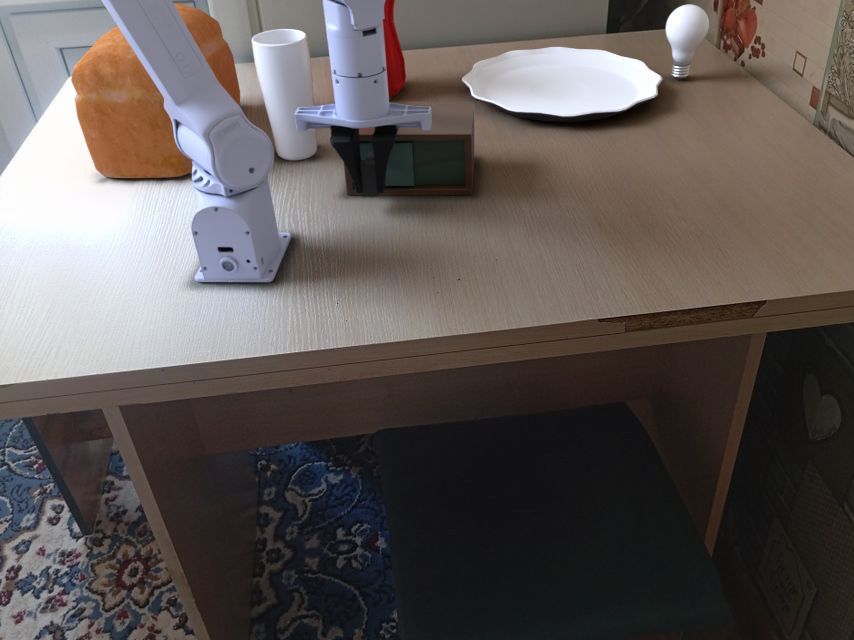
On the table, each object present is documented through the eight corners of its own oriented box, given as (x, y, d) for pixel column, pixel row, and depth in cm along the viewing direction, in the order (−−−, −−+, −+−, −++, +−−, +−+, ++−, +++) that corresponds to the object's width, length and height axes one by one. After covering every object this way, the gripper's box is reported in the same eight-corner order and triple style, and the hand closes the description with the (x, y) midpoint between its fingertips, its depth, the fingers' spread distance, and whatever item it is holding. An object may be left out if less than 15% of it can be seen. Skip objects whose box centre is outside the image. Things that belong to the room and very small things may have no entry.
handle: (411, 203, 90) (408, 159, 87) (350, 203, 90) (345, 159, 87) (415, 183, 94) (412, 140, 91) (356, 183, 94) (352, 141, 91)
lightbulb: (651, 74, 125) (660, 1, 119) (686, 70, 127) (698, -3, 120) (671, 88, 121) (682, 12, 114) (707, 82, 122) (720, 8, 115)
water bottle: (329, 103, 118) (305, -84, 103) (359, 79, 126) (341, -98, 111) (385, 109, 116) (369, -81, 100) (412, 84, 124) (401, -96, 109)
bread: (248, 103, 119) (227, -8, 109) (197, 180, 98) (165, 51, 88) (158, 104, 119) (129, -7, 110) (89, 181, 99) (45, 52, 89)
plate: (438, 119, 112) (438, 103, 111) (493, 55, 134) (493, 41, 133) (646, 140, 105) (648, 123, 104) (668, 69, 127) (670, 54, 126)
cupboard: (472, 195, 94) (471, 134, 89) (347, 195, 94) (339, 134, 90) (474, 159, 101) (473, 102, 97) (359, 160, 102) (353, 102, 97)
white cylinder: (312, 166, 101) (295, 46, 92) (263, 162, 102) (241, 44, 93) (330, 144, 106) (315, 29, 97) (283, 141, 107) (263, 27, 98)
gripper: (431, 55, 84) (436, 173, 92) (297, 56, 85) (314, 173, 93) (426, 78, 79) (432, 201, 87) (283, 79, 79) (302, 201, 87)
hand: (371, 189), depth 90 cm, fingers closed on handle, 2 cm apart
